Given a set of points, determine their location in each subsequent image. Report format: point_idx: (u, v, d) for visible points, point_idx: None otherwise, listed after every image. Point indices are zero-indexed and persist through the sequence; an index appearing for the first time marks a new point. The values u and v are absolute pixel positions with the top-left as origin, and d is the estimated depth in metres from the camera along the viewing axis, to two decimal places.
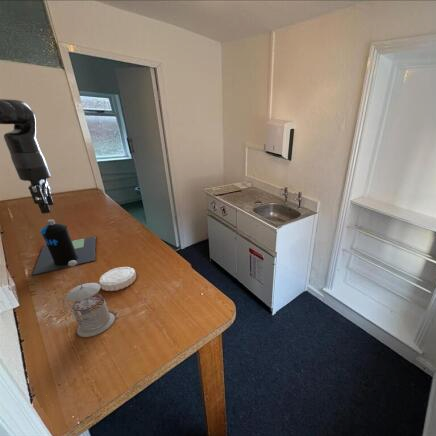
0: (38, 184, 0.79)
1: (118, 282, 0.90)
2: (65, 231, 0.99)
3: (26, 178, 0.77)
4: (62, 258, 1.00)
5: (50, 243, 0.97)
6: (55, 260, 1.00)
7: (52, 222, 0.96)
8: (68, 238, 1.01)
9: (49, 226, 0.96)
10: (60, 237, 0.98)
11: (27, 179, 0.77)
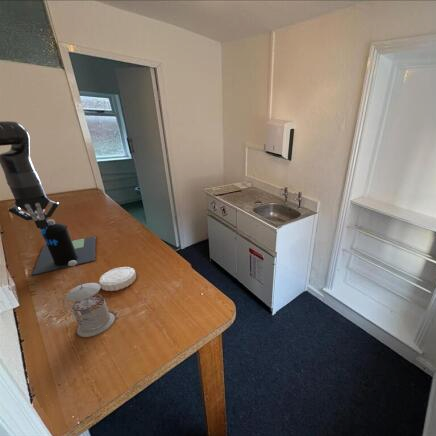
0: (15, 204, 0.80)
1: (118, 282, 0.90)
2: (65, 231, 0.99)
3: None
4: (62, 258, 1.00)
5: (50, 243, 0.97)
6: (55, 260, 1.00)
7: (52, 222, 0.96)
8: (68, 238, 1.01)
9: (49, 226, 0.96)
10: (60, 237, 0.98)
11: None
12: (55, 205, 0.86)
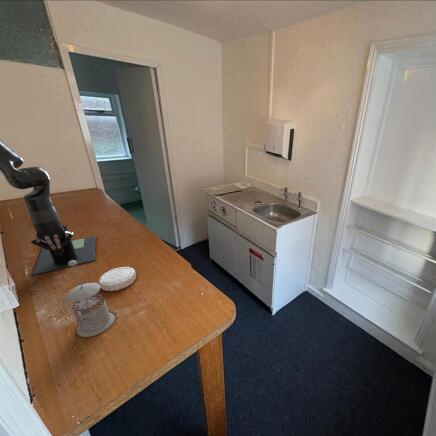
0: (36, 236, 0.91)
1: (118, 282, 0.90)
2: None
3: None
4: (62, 258, 1.00)
5: None
6: (55, 260, 1.00)
7: None
8: None
9: None
10: None
11: None
12: (70, 235, 0.97)
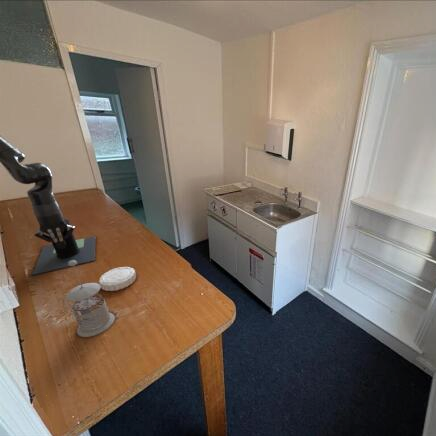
0: None
1: (118, 282, 0.90)
2: None
3: None
4: (64, 251, 1.05)
5: None
6: (58, 253, 1.05)
7: None
8: None
9: None
10: None
11: None
12: (72, 229, 1.02)
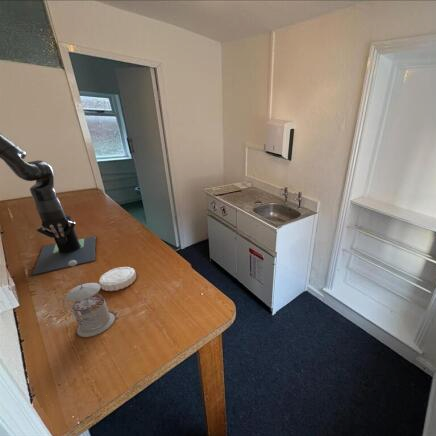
0: (42, 225, 0.99)
1: (118, 282, 0.90)
2: None
3: None
4: (66, 246, 1.09)
5: None
6: (60, 248, 1.08)
7: None
8: None
9: None
10: None
11: None
12: (73, 225, 1.05)
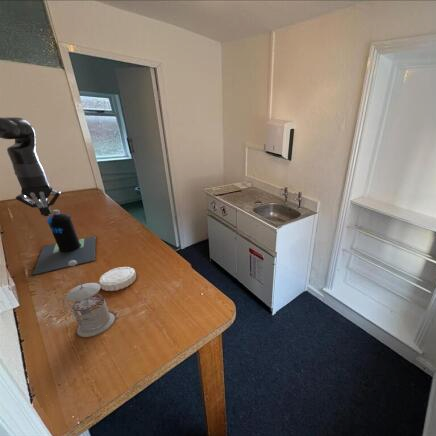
0: (21, 192, 0.88)
1: (118, 282, 0.90)
2: (69, 220, 1.08)
3: None
4: (67, 245, 1.09)
5: (55, 231, 1.05)
6: (60, 247, 1.09)
7: (57, 212, 1.05)
8: (72, 227, 1.10)
9: (55, 216, 1.05)
10: (65, 225, 1.06)
11: None
12: (57, 194, 0.94)
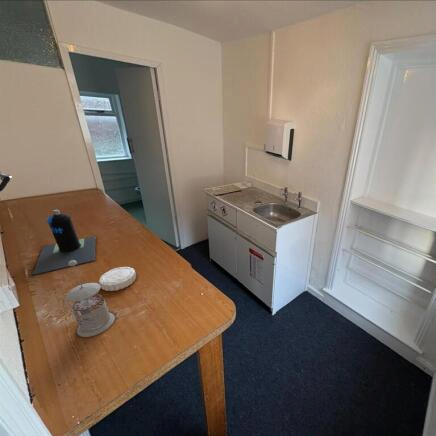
0: None
1: (118, 282, 0.90)
2: (69, 220, 1.08)
3: None
4: (67, 245, 1.09)
5: (55, 231, 1.05)
6: (60, 247, 1.09)
7: (57, 212, 1.05)
8: (72, 227, 1.10)
9: (55, 216, 1.05)
10: (65, 225, 1.06)
11: None
12: (6, 178, 0.80)
